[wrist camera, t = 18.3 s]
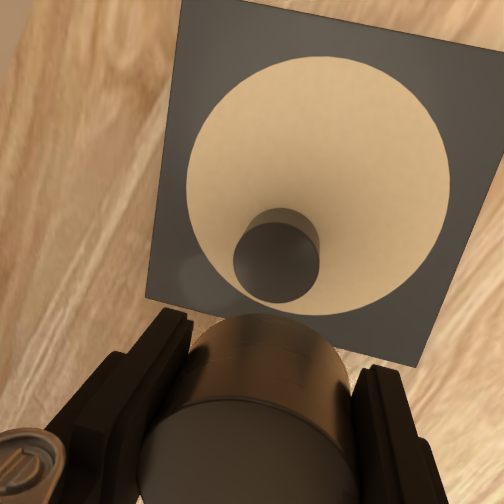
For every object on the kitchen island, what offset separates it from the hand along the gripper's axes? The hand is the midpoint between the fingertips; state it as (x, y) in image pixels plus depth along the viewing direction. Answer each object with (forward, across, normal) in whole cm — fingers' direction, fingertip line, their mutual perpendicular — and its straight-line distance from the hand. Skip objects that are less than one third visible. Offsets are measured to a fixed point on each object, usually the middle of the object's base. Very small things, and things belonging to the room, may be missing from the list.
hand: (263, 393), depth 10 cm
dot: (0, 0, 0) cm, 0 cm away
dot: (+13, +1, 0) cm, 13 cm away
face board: (+14, 0, -2) cm, 14 cm away
